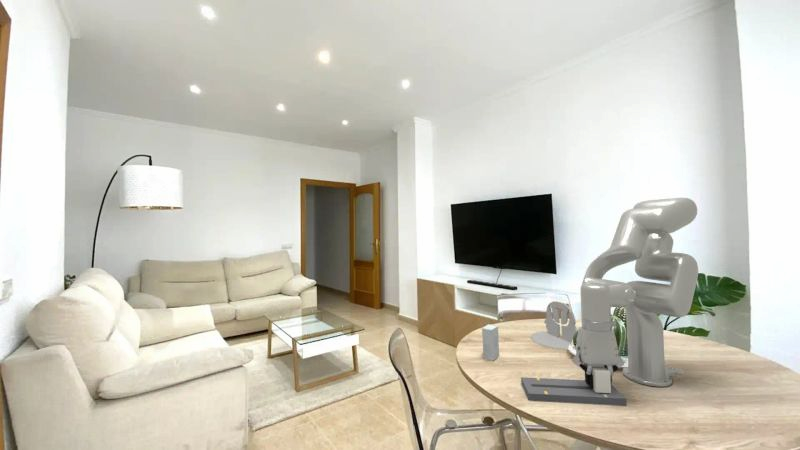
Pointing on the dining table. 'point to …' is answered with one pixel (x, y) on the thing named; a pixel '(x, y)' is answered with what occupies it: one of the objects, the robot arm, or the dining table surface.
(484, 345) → the skincare box
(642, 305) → the robot arm
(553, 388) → the slider panel
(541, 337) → the ornament
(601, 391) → the fader tab
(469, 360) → the dining table surface
